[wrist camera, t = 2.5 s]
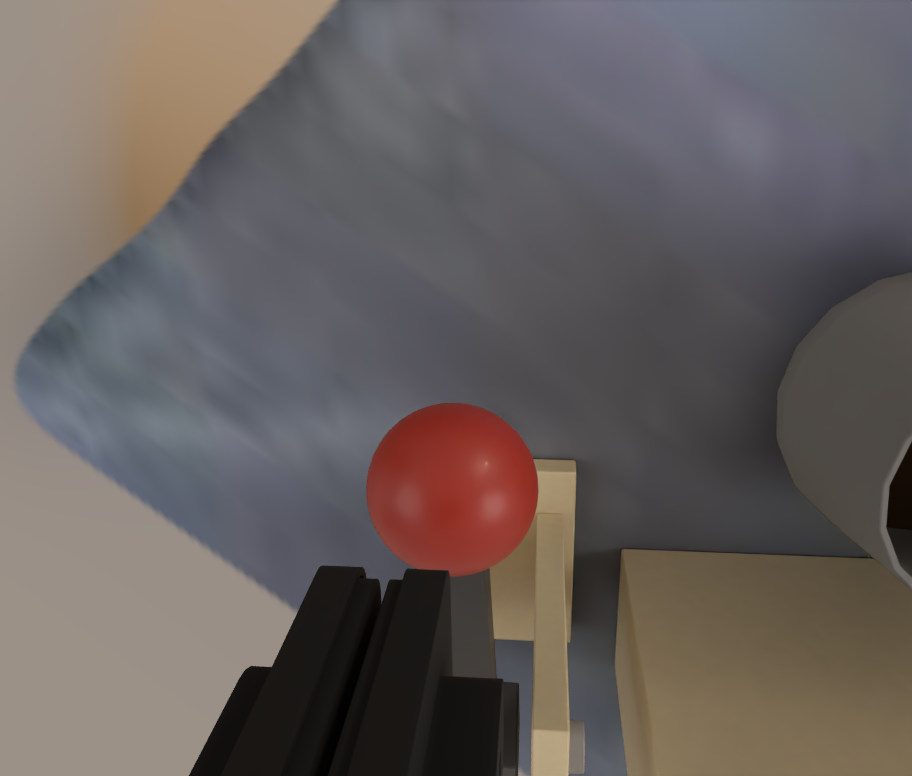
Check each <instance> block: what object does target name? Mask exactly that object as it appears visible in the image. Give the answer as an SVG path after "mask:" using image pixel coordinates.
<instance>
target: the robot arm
mask: <svg viewBox="0 0 912 776" xmlns="http://www.w3.org/2000/svg"><path fill="white" fill-rule="evenodd" d="M503 743H504V686H503V679H496V678H476V677H456V676H453V664H452V627H451V590H450V574H449V571H448V570H426V569H407V570H406V571H405V574H404V577H403V580H389V583H388V585H387V589H386V592H385V595H384V598H383V601H382V605H381V589H380V583H379V580H378V579H366V573H365V570H364V568H363V567H345V566H321V567H320V568H319V569H318V571H317V573H316V575H315V577H314V579H313V581H312V583H311V585H310V587H309V589H308V592H307V594H306V596H305V598H304V600H303V602H302V604H301V606H300V609H299V611H298V613H297V615H296V617H295V619H294V621H293V623H292V626H291V628H290V630H289V632H288V634H287V636H286V638H285V640H284V642H283V645H282V647H281V649H280V651H279V653H278V655H277V657H276V659H275V661H274V664H273V666H272V667H259V666H257V667H256V666H251V667H249V668H247V669H246V670H245V671H244V672H243V674H242V675H241V677H240V678H239V680H238V682H237V684H236V686H235V688H234V690H233V692H232V694H231V696H230V698H229V700H228V701H227V703H226V705H225V707H224V709H223V711H222V713H221V715H220V717H219V719H218V721H217V723H216V725H215V727H214V728H213V730H212V732H211V734H210V736H209V738H208V740H207V742H206V744H205V746H204V748H203V750H202V752H201V754H200V755H199V757H198V759H197V761H196V763H195V765H194V767H193V769H192V771H191V773H190V775H189V776H503Z"/></svg>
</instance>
